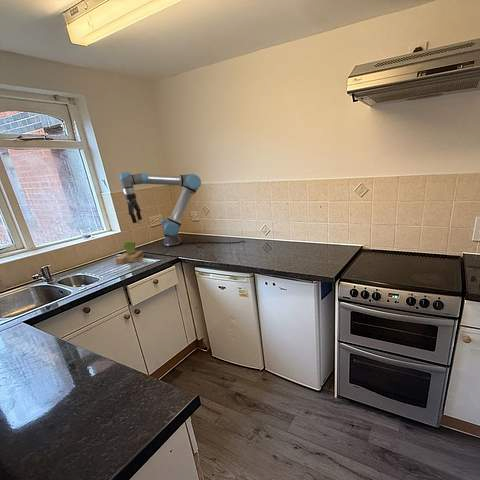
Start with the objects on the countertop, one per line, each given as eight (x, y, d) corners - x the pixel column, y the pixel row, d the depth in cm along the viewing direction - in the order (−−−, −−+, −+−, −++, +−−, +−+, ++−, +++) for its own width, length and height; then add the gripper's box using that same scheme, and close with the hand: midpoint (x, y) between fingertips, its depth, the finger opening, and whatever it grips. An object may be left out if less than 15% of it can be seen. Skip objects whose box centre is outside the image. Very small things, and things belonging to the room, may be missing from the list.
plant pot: (128, 252, 239) (124, 242, 236) (139, 250, 239) (136, 240, 236) (123, 255, 230) (120, 245, 227) (135, 254, 230) (132, 243, 227)
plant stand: (144, 255, 241) (143, 250, 239) (138, 261, 226) (137, 256, 224) (124, 258, 239) (123, 253, 238) (117, 264, 225) (115, 259, 223)
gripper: (130, 192, 239) (137, 219, 247) (118, 196, 216) (127, 225, 224) (139, 191, 240) (146, 217, 247) (129, 194, 216) (137, 223, 224)
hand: (137, 221), depth 235 cm, fingers open, 13 cm apart
